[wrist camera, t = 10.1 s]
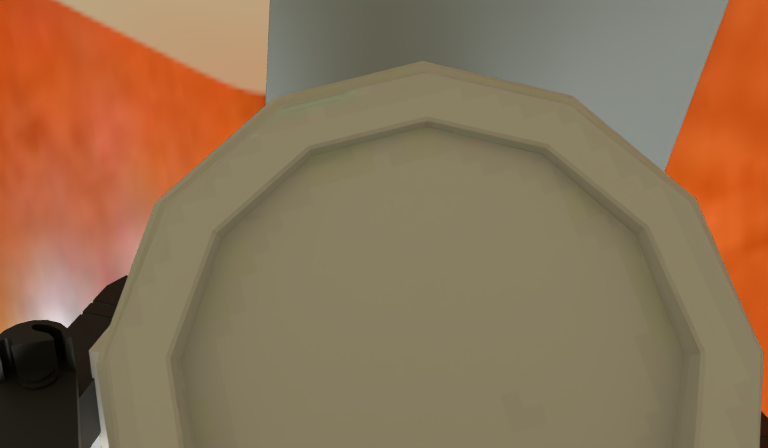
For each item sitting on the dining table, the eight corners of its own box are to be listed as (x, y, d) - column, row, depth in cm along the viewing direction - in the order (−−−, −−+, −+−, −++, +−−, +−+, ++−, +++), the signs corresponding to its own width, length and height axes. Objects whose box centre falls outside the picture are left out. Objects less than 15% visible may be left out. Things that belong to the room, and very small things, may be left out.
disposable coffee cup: (265, 242, 25) (85, 13, 10) (550, 238, 25) (767, 0, 10) (253, 550, 22) (-18, 821, 8) (576, 547, 22) (927, 816, 7)
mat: (819, -256, 19) (826, -259, 19) (606, 313, 30) (607, 320, 29) (288, -326, 20) (283, -330, 20) (262, 246, 31) (259, 251, 30)
